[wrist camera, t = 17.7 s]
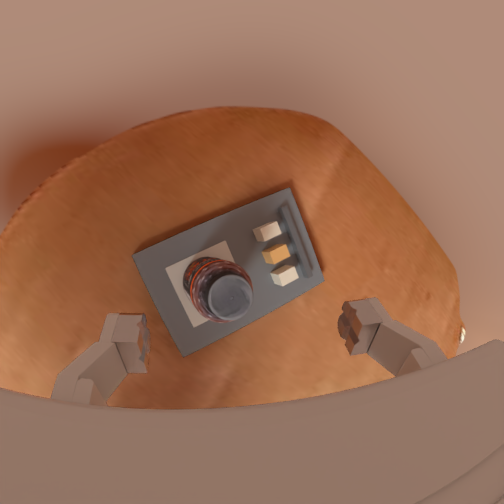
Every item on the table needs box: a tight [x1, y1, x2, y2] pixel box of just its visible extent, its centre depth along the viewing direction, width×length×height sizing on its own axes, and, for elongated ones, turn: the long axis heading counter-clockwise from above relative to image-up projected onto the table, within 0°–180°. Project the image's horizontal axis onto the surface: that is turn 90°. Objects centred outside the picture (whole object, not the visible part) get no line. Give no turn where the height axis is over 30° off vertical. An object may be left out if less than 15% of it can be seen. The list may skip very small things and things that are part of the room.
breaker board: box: [132, 187, 325, 357], centre depth 36 cm, size 22×14×4 cm, turn 113°
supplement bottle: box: [183, 257, 253, 323], centre depth 30 cm, size 6×6×11 cm
